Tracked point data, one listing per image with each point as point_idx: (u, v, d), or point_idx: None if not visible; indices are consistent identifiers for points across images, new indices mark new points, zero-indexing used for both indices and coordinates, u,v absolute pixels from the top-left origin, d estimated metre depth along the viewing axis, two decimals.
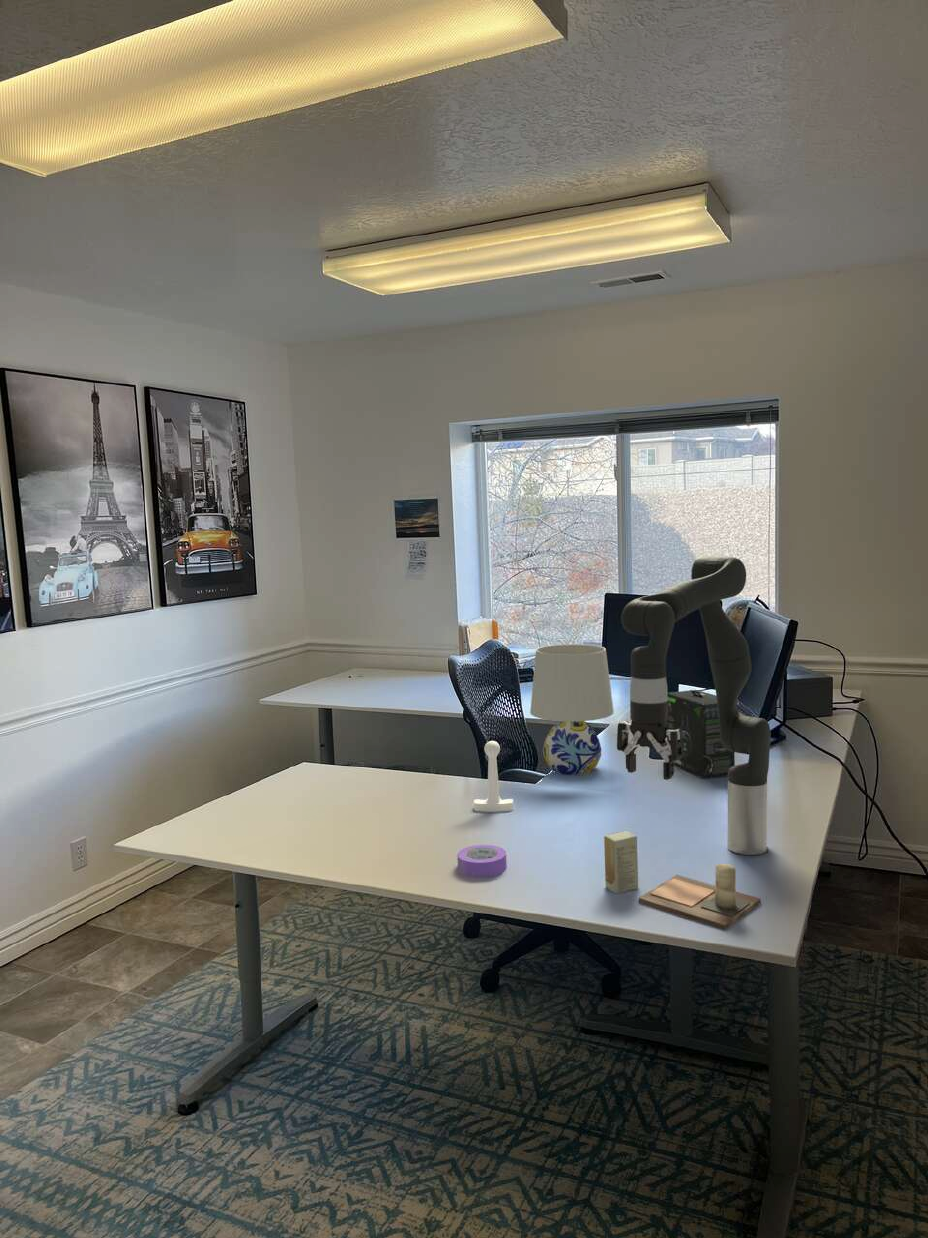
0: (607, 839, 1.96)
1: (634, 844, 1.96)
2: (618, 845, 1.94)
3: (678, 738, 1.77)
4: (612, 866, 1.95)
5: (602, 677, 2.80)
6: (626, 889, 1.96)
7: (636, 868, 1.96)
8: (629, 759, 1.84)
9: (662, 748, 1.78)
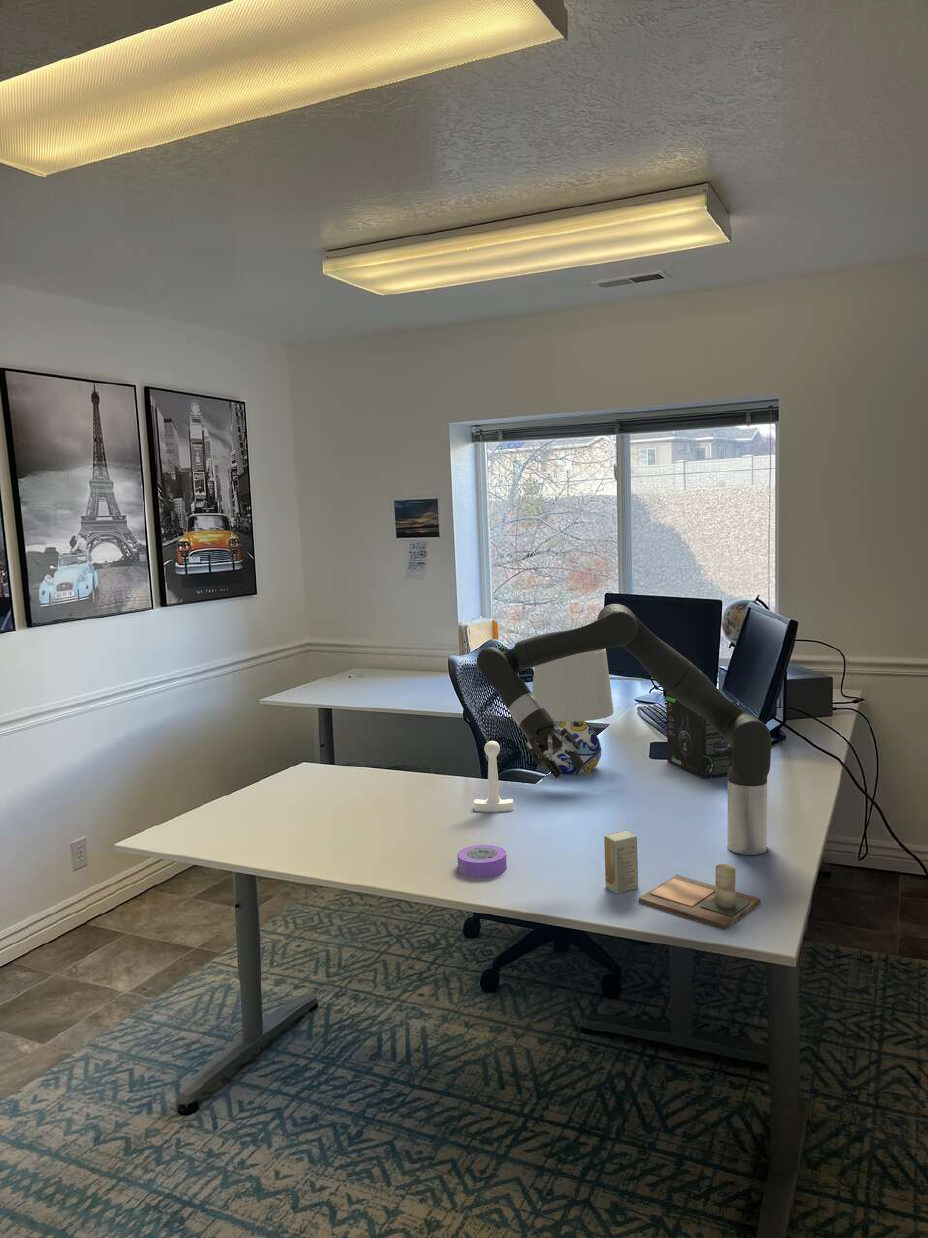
0: (607, 839, 1.96)
1: (634, 844, 1.96)
2: (618, 845, 1.94)
3: (530, 747, 2.03)
4: (612, 866, 1.95)
5: (602, 677, 2.80)
6: (626, 889, 1.96)
7: (636, 868, 1.96)
8: None
9: None
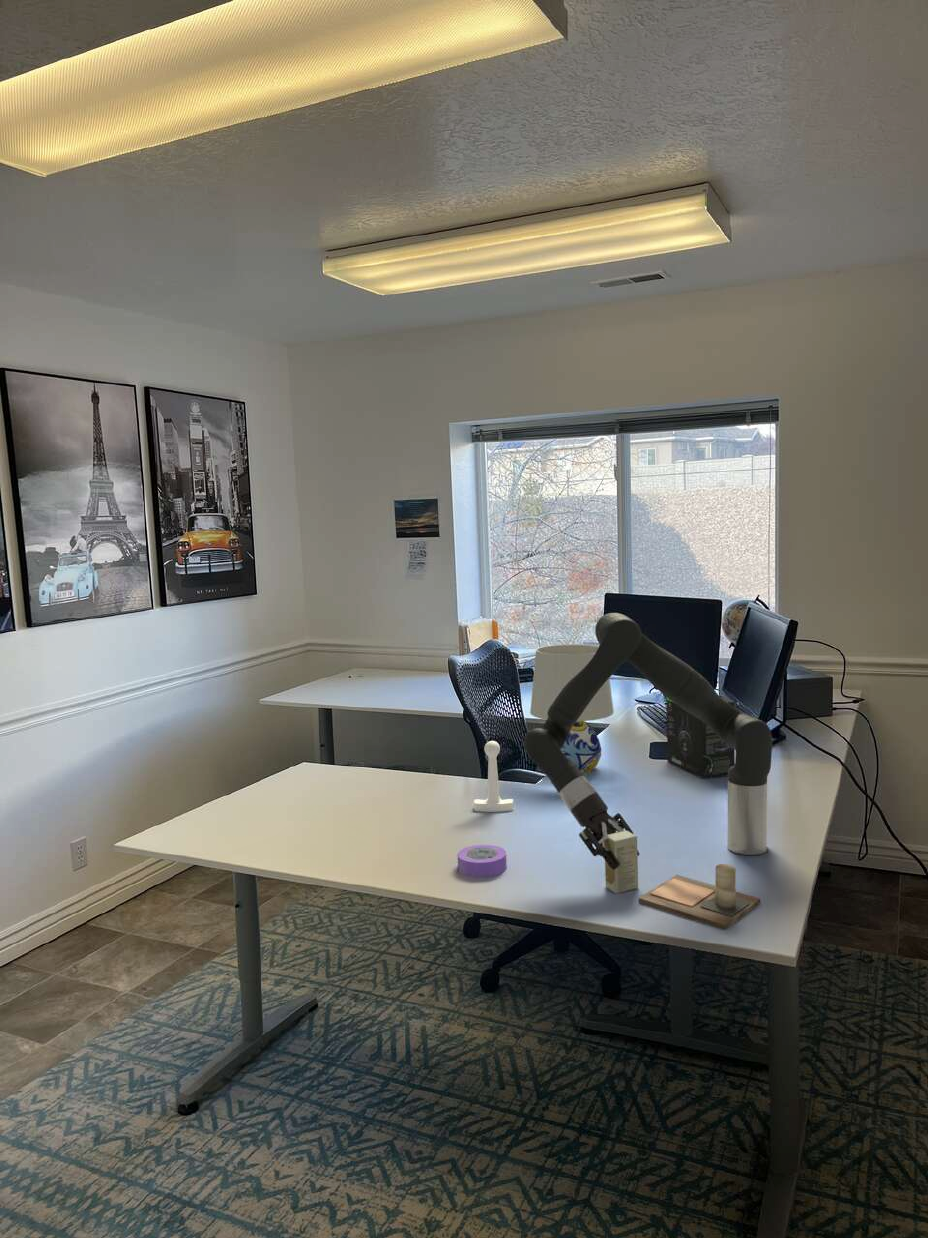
0: None
1: (634, 844, 1.96)
2: (618, 845, 1.94)
3: (585, 837, 1.95)
4: None
5: None
6: (626, 889, 1.96)
7: (636, 868, 1.96)
8: None
9: None
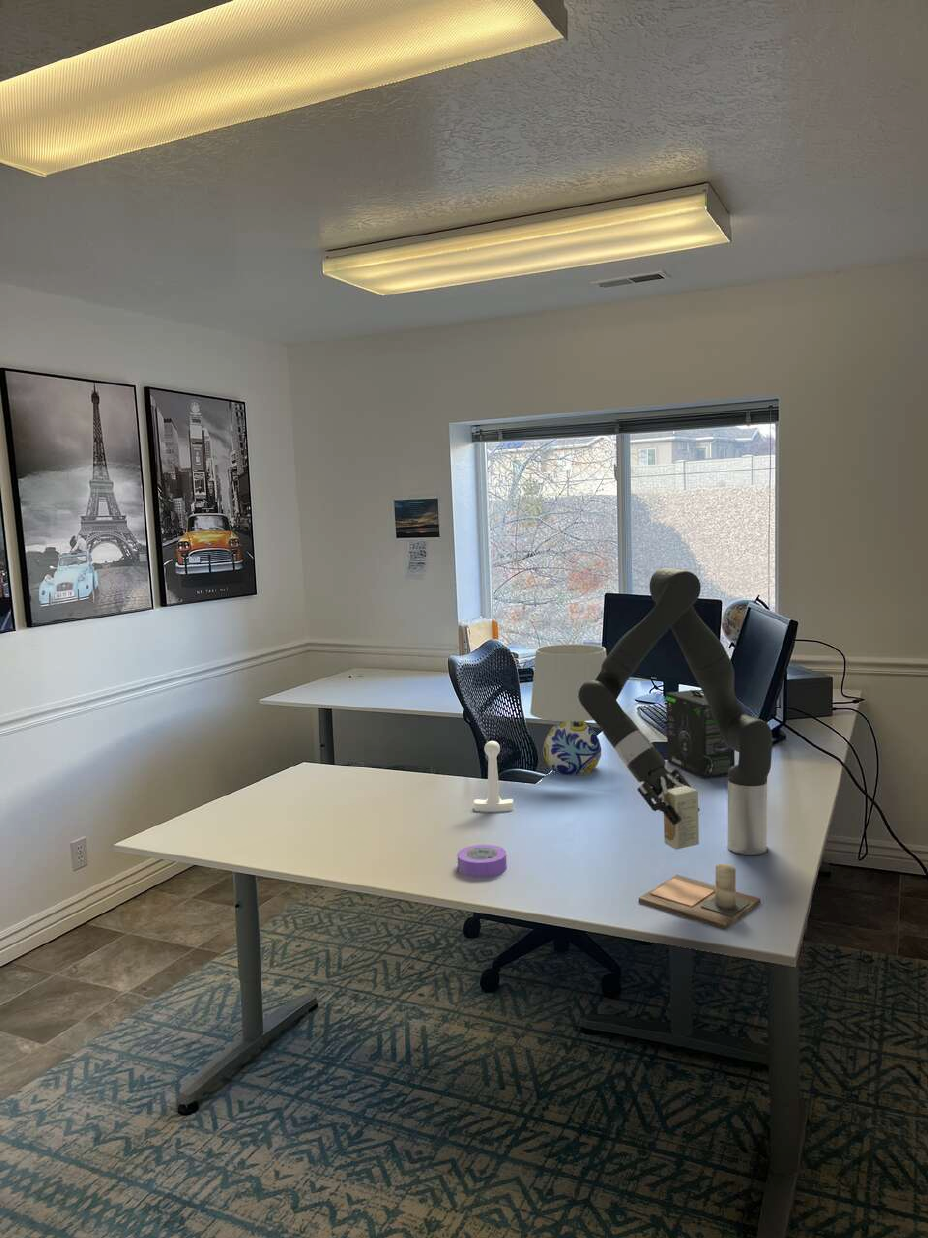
0: None
1: (695, 799, 1.89)
2: (679, 800, 1.87)
3: (644, 792, 1.88)
4: None
5: None
6: (687, 845, 1.89)
7: (697, 823, 1.89)
8: None
9: None
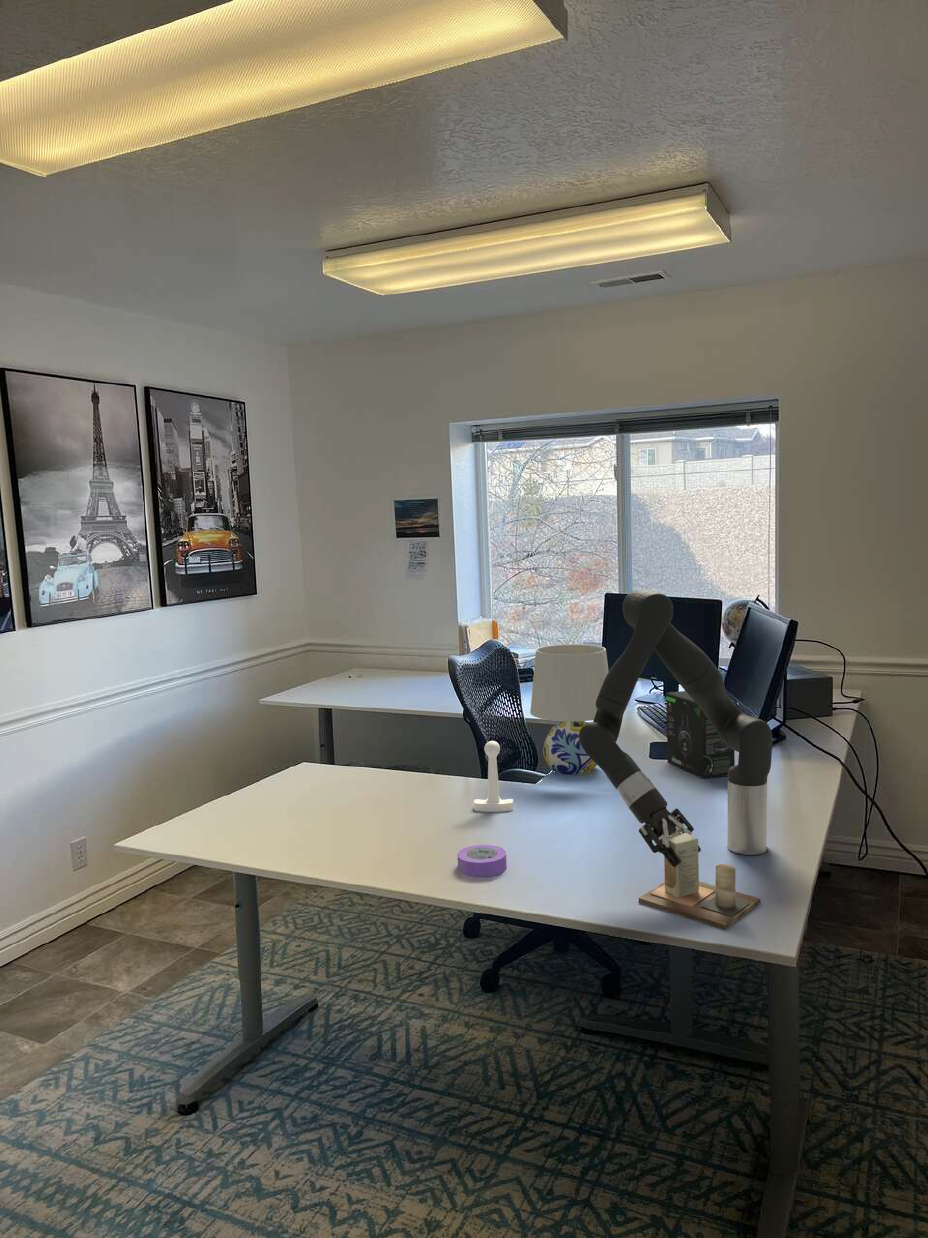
0: None
1: (695, 847, 1.89)
2: (680, 848, 1.88)
3: (645, 833, 1.89)
4: (672, 870, 1.89)
5: (602, 677, 2.80)
6: (687, 893, 1.90)
7: (697, 871, 1.90)
8: None
9: None
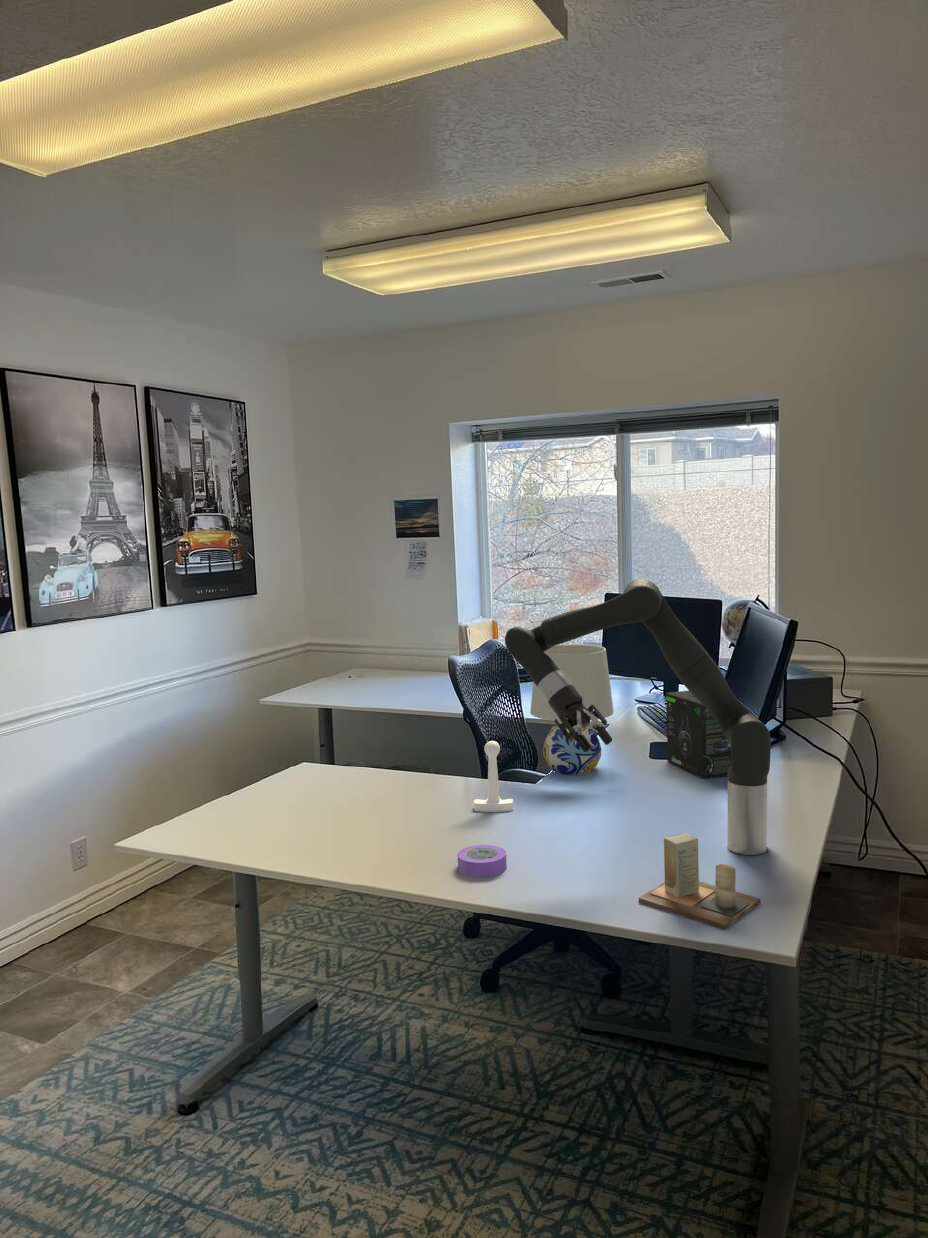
0: (667, 842, 1.89)
1: (695, 847, 1.89)
2: (680, 848, 1.88)
3: (559, 722, 2.08)
4: (672, 870, 1.89)
5: (602, 677, 2.80)
6: (687, 893, 1.90)
7: (697, 871, 1.90)
8: None
9: None
